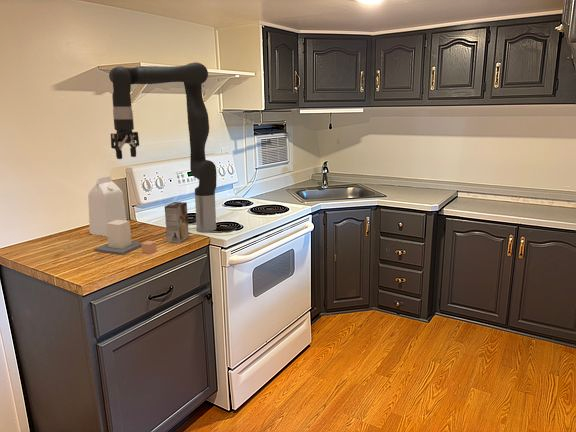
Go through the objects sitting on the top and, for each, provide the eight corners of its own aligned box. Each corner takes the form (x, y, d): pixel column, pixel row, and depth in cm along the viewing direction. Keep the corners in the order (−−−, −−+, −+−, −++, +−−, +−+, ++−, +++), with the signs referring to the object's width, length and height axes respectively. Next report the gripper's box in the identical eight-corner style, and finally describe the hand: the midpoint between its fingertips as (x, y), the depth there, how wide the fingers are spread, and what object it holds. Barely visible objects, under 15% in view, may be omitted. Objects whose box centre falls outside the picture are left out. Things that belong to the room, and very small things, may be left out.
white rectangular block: (108, 246, 181) (106, 223, 179) (119, 242, 187) (117, 219, 184) (121, 248, 179) (119, 224, 176) (131, 244, 185) (129, 221, 182)
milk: (110, 227, 214) (104, 174, 208) (128, 230, 209) (123, 175, 203) (89, 233, 203) (83, 177, 197) (108, 236, 199) (102, 179, 192)
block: (142, 252, 177) (141, 243, 176) (148, 250, 181) (147, 240, 180) (150, 254, 176) (149, 244, 175) (156, 251, 180) (155, 241, 179)
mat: (94, 251, 179) (94, 248, 179) (118, 241, 192) (118, 239, 192) (122, 255, 174) (122, 252, 174) (145, 244, 187) (145, 242, 187)
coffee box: (175, 236, 200) (173, 201, 196) (189, 237, 198) (187, 202, 194) (166, 242, 191) (164, 206, 187) (180, 243, 190) (178, 206, 186)
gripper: (118, 118, 172) (122, 160, 176) (142, 117, 185) (145, 156, 189) (103, 118, 175) (107, 159, 179) (127, 117, 188) (130, 155, 192)
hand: (126, 157), depth 184 cm, fingers open, 8 cm apart
